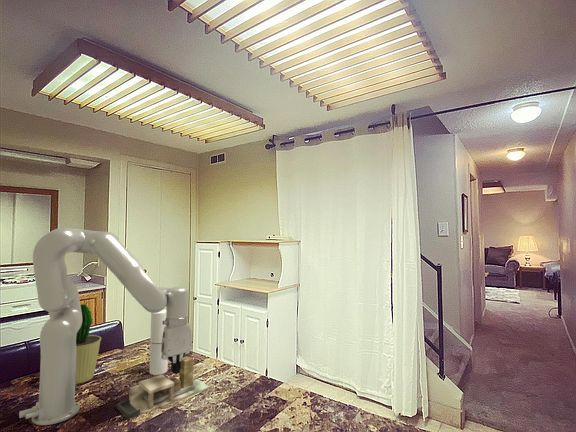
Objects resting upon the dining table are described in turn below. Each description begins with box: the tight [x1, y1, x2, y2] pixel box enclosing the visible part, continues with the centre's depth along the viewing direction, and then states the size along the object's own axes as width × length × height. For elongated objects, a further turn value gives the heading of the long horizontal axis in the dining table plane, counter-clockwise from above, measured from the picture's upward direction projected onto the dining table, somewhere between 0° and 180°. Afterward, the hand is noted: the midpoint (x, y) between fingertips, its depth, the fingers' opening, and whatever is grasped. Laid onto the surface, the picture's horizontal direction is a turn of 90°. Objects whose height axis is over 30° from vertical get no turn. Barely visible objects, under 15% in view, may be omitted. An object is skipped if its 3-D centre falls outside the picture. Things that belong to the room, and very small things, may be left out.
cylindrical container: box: [149, 309, 169, 376], centre depth 141 cm, size 7×7×25 cm
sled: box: [144, 356, 195, 404], centre depth 119 cm, size 16×6×11 cm, turn 136°
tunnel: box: [116, 374, 211, 420], centre depth 118 cm, size 30×10×6 cm, turn 136°
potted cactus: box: [75, 303, 102, 385], centre depth 134 cm, size 15×15×30 cm
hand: (175, 372), depth 120 cm, fingers closed
